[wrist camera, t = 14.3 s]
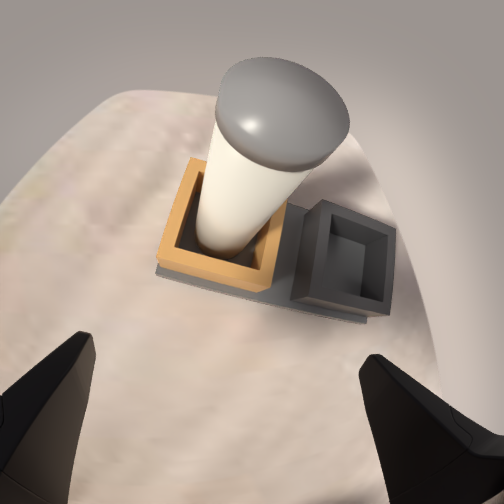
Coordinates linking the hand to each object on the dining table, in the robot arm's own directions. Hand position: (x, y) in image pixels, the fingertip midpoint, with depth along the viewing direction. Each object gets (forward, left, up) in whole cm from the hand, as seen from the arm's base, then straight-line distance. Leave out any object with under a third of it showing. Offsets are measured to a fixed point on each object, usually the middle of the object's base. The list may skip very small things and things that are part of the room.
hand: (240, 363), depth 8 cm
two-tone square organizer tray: (+6, -5, -11) cm, 14 cm away
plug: (+7, -1, -10) cm, 12 cm away
